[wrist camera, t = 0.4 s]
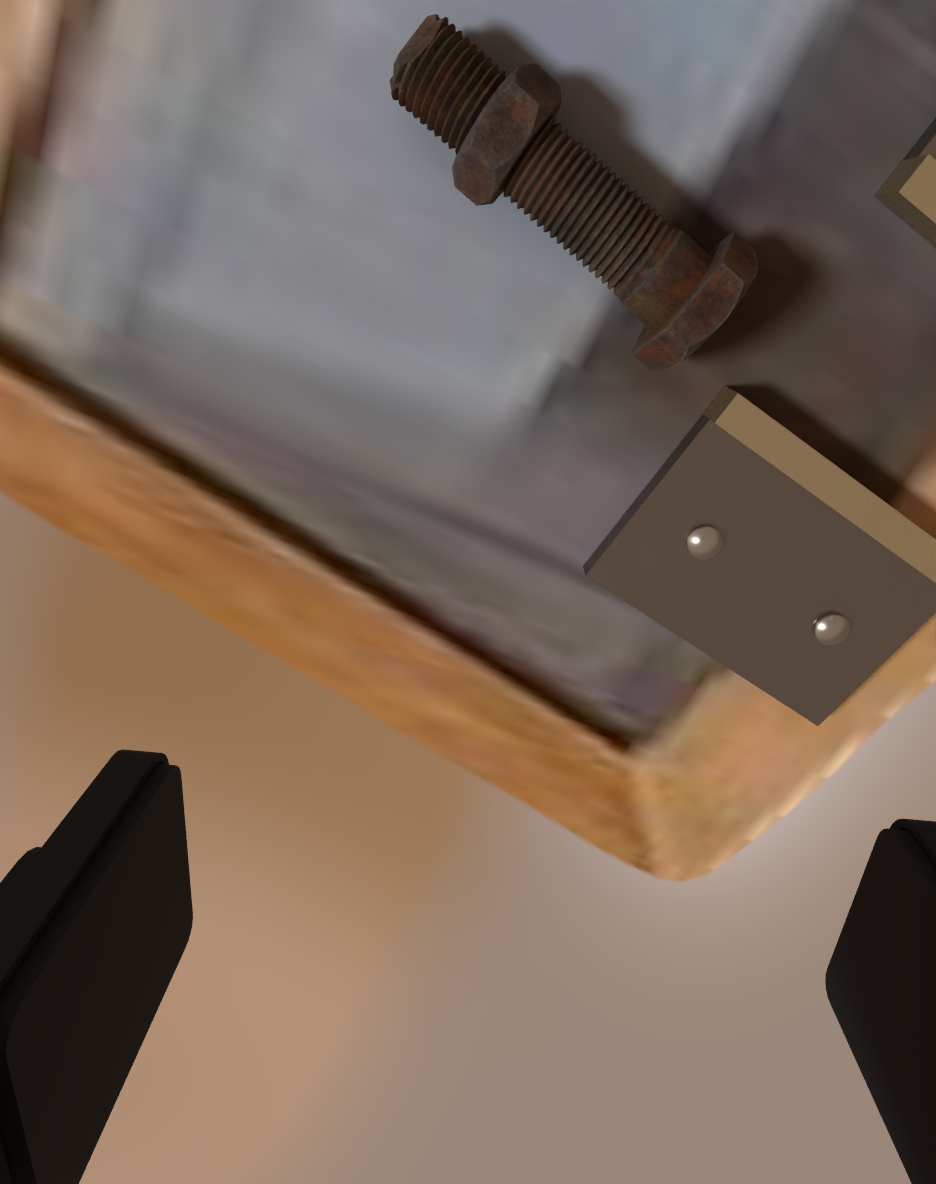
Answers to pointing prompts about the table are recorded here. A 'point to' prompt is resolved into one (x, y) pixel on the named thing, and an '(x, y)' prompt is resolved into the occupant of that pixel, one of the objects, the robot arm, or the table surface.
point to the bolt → (568, 191)
